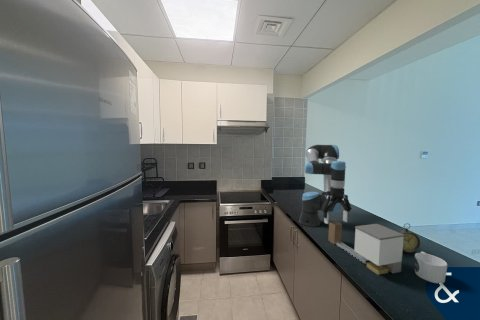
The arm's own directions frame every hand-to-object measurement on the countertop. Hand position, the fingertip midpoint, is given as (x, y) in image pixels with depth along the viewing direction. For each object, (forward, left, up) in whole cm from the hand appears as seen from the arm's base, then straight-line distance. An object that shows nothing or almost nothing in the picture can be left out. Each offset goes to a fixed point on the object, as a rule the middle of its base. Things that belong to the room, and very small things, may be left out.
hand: (335, 222), depth 119 cm
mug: (+36, +20, -13) cm, 43 cm away
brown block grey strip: (+10, 0, -13) cm, 16 cm away
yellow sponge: (+27, 0, -13) cm, 30 cm away
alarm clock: (+19, +31, -13) cm, 38 cm away
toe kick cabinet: (+25, +3, -13) cm, 28 cm away
